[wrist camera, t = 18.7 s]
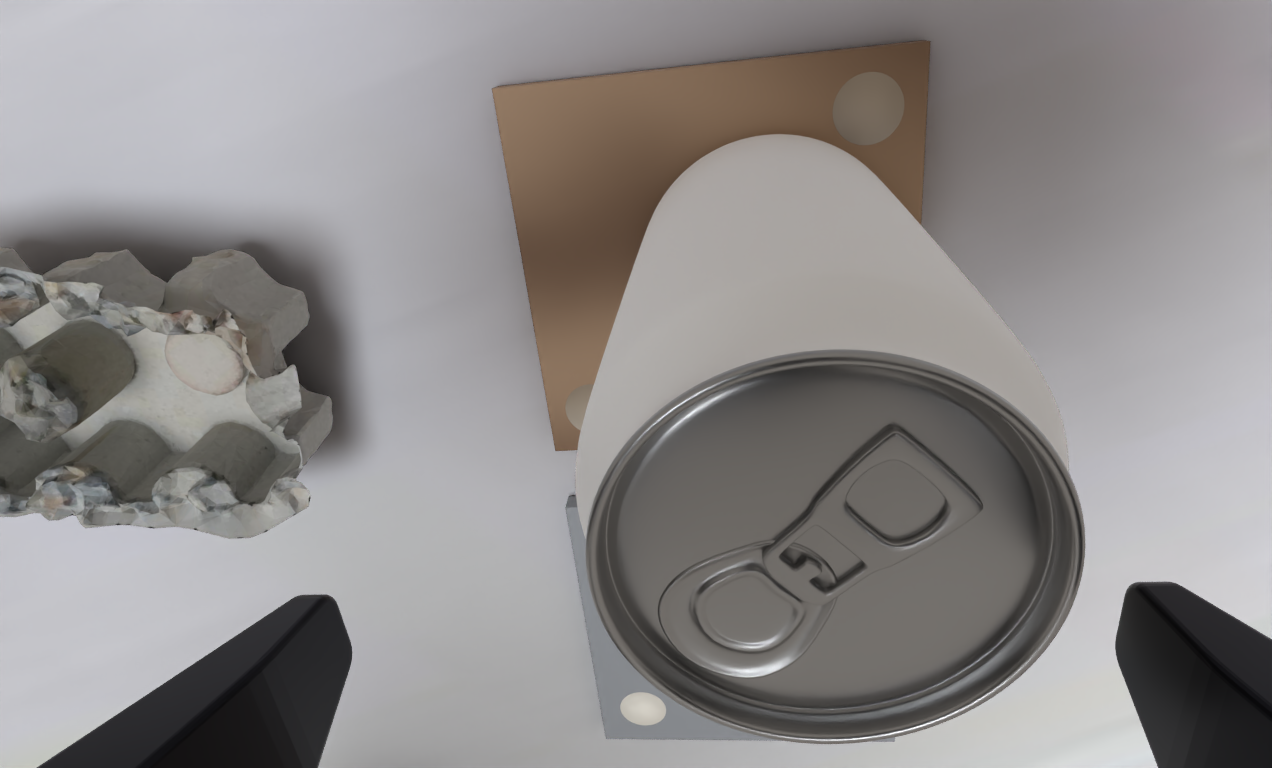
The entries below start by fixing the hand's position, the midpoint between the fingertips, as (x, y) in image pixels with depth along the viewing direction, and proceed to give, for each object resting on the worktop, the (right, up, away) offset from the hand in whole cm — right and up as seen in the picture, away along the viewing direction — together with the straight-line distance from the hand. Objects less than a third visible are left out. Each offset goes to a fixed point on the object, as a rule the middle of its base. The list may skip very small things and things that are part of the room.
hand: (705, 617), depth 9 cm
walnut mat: (+1, +6, +12) cm, 13 cm away
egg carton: (-16, +6, +14) cm, 22 cm away
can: (+3, +6, +11) cm, 13 cm away
